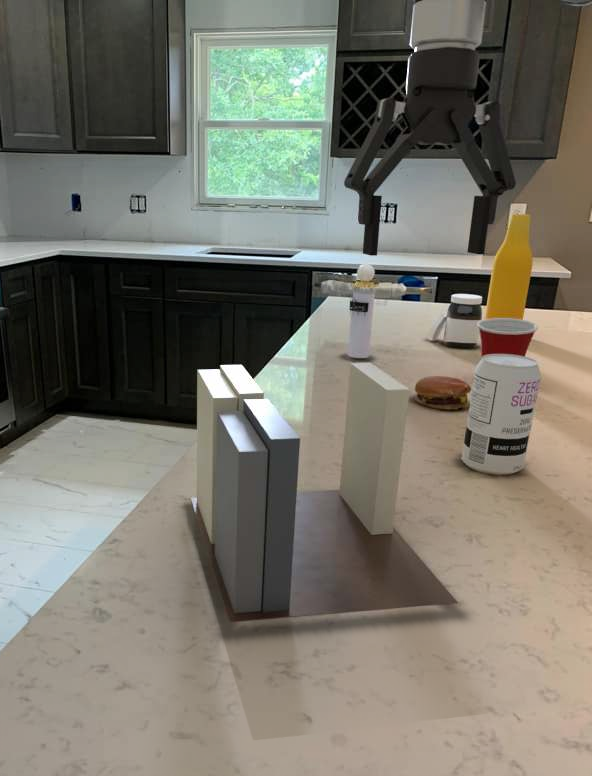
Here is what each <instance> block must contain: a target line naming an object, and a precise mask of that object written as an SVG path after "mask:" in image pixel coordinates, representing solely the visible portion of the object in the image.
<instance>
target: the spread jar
mask: <svg viewBox="0 0 592 776" xmlns="http://www.w3.org/2000/svg"><path fill="white" fill-rule="evenodd" d="M482 301H483V296H482V295H478V294H469V293H454V294H452V295H451V298H450V302H451V303H450V304H449V305H448V309H447V311H446V314H444V313H440V314H439V315H437V317H436V319H435V320H434V321H433V323H432V325H431V326H430V327H429V328H430V329H429V331H428V334H427V340H429V341H430V342H435V341H437V340H438V338H439V337H440V336H441V335H442V334H443V345H444V346H446V347H448V348H452V349H453V348H454V349H461V350H462V349H463V350H469V349H470V350H471V349H475V348H476V347H478V343H479V339H480V330H479V328H478V326H477V323H478V322H480V321H482V320H483V319H482V318H483V308H482V305H481V304H482V303H483V302H482Z"/></svg>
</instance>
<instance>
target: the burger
mask: <svg viewBox="0 0 592 776" xmlns="http://www.w3.org/2000/svg"><path fill="white" fill-rule="evenodd" d="M414 392H415V393H416V395H415V398H414V400H415V402H416V403H418V404H420V405H423V406H426V407H429V408H432V409H435V410H448V411H449V410H453V411H457V410H459V409H462V410H466V409H469V407H470V403H469V401H468V394H469V393H471V392H472V387H471V385H470V384H469V383H468V382H467V381H464V380H462V379H459V378H456V377H452V376H443V375H430V376H424V377H422V378H420V379H419V380H418V381H417V382H416V384H415V386H414Z"/></svg>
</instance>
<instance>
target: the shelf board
mask: <svg viewBox="0 0 592 776" xmlns="http://www.w3.org/2000/svg"><path fill="white" fill-rule="evenodd" d="M339 490H340V489H326V490H324V489H323V490H309V491H297V497H296V513H295V529H294V545H293V561H292V577H291V593H290V609H289V610H285V611H273V612H263V611H262V609H261V611H257V612H245V613H234V611H233V608H232V605H231V602H230V599H229V596H228V593H227V590H226V587H225V584H224V581H223V578H222V575H221V572H220V569H219V566H218V563H217V560H216V557H215V544H211V542H210V539H209V536H208V533H207V530H206V527H205V524H204V521H203V518H202V515H201V512H200V509H199V506H198V503H197V496H196V497H189V499H190V503H191V506H192V509H193V512H194V515H195V518H196V521H197V525H198V529H199V532H200V535H201V537H202V540H203V545H204V547H205V550H206V553H207V556H208V559H209V562H210V566H211V569H212V572H213V575H214V579H215V581H216V584H217V587H218V588H217V589H218V591H219V594H220V597H221V600H222V604H223V607H224V610H225V613H226V616H227V619H228V622H229V623H240V622H252V621H263V620H264V621H265V620H276V619H277V620H278V619H286V618H297V617H308V616H309V617H311V616H322V615H334V614H335V615H336V614H344V613H345V614H347V613H357V612H367V611H369V612H370V611H379V610H381V611H382V610H391V609H392V610H393V609H404V608H416V607H428V606H439V605H451V604H458V602H459V601H457V599H456V598H455V597H454V596H453V595H452V594H451V593H450V591H449V590H448V589H447V588H446V587H445V585H444V584H443V583H442V582H441V581H440V580H439V578H438V577H437V576H436V575H435V574H434V572H432V570H431V569H430V567H428V565H426V563H425V562H424V561H423V560H422V559H421V557H419V555H418V553H416V552H415V551H414V550H413V547H411V546H410V545H409V544H408V543H407V541H406V540H405V539H404V538H403V536H401V534H400V533H399V532H398V531H397V529H396V528H395V527H394V526H393V532H392V534H379V535H371V534H370V533H369V531H368V530H367V529H366V527H365V526H364V525H363V524H362V522H361V521H360V520H359V518H358V517H357V516H356V515H355V513H354V512H353V511H352V509H351V508H350V507H349V506H348V504H347V503H346V502H345V500H344V499H343V498H342V497H341V495H340V494H339Z"/></svg>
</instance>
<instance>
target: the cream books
mask: <svg viewBox="0 0 592 776" xmlns="http://www.w3.org/2000/svg"><path fill="white" fill-rule="evenodd" d="M196 371H197V372H196V373H197V374H196V376H197V377H196V379H197V380H196V411H197V412H196V497H197V503H198V506H199V509H200V512H201V515H202V518H203V521H204V524H205V527H206V530H207V533H208V536H209V539H210V542H211V544H215V511H216V446H217V412H222V411H243V402H244V400H249V399H265V392H264V391H263V389H261V387H260V386H259V384H258V383H257V382H256V381H255V380H254V379H253V378H252V376H251V375H250V373H249V372H248V371H247V370H246V368H245V367H244V366H243V365H242V364H220V365H219V368H218V369H217V368H215V369H196Z"/></svg>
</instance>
